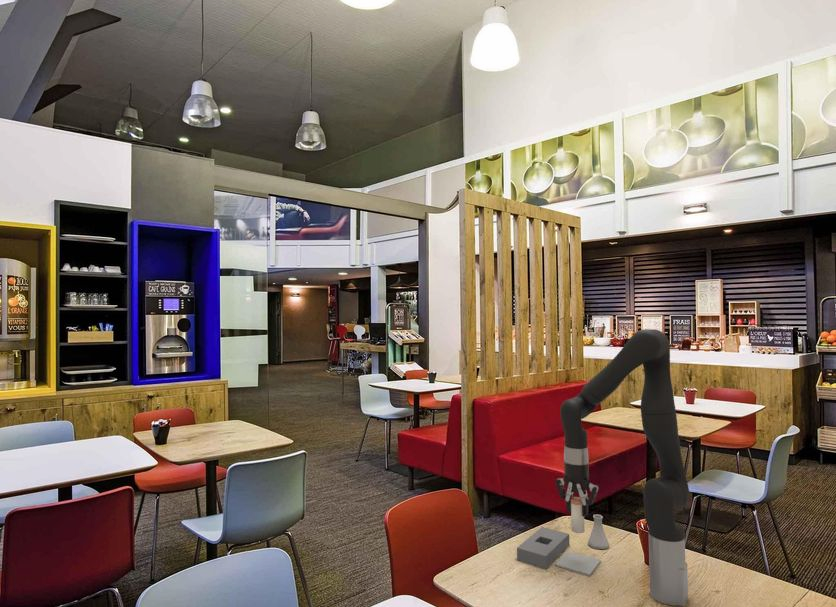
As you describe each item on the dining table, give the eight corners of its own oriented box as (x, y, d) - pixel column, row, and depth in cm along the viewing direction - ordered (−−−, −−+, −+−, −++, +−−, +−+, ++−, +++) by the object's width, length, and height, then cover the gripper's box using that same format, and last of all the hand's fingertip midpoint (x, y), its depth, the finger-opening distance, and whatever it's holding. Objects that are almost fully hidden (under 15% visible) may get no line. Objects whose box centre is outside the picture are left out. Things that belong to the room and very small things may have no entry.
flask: (612, 550, 171) (612, 520, 172) (591, 550, 171) (590, 520, 172) (605, 540, 179) (604, 512, 179) (584, 540, 179) (584, 512, 179)
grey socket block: (569, 545, 175) (569, 533, 175) (546, 569, 159) (545, 556, 159) (542, 538, 181) (541, 526, 181) (517, 560, 165) (516, 547, 165)
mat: (601, 562, 163) (601, 560, 163) (589, 576, 154) (589, 574, 154) (567, 552, 170) (567, 550, 170) (555, 565, 161) (555, 564, 161)
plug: (586, 529, 163) (585, 498, 163) (582, 534, 160) (581, 502, 160) (574, 526, 165) (573, 495, 165) (569, 531, 162) (568, 500, 162)
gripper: (602, 461, 161) (603, 515, 161) (559, 454, 170) (560, 505, 170) (594, 467, 156) (595, 523, 155) (550, 459, 164) (551, 513, 164)
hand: (577, 514), depth 162 cm, fingers closed on plug, 4 cm apart
